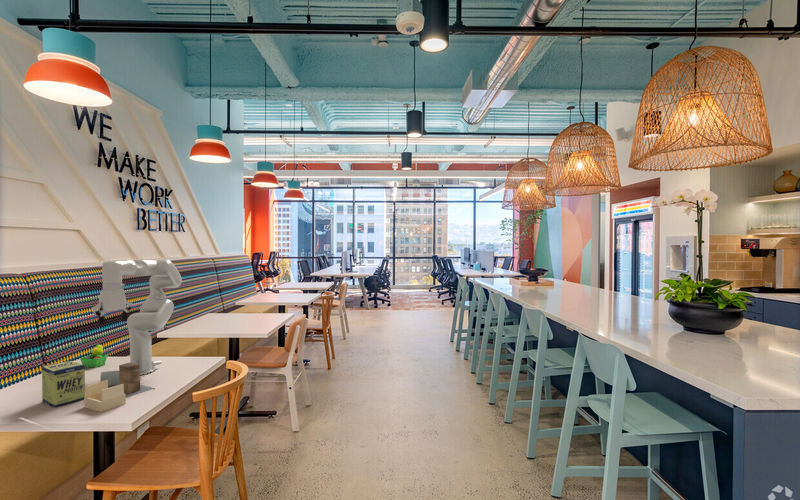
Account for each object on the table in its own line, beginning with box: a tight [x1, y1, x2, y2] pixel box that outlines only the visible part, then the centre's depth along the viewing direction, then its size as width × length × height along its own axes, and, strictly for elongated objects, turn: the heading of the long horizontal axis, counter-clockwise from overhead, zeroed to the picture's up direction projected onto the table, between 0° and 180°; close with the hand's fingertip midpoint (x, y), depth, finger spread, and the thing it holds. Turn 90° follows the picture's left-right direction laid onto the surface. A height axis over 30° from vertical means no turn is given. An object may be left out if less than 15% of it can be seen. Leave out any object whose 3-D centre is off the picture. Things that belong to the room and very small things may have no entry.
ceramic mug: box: [99, 370, 120, 388], centre depth 187 cm, size 11×8×8 cm
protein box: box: [41, 360, 86, 408], centre depth 168 cm, size 10×16×16 cm
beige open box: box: [83, 380, 127, 413], centre depth 161 cm, size 9×12×9 cm
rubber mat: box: [124, 384, 156, 399], centre depth 177 cm, size 14×14×1 cm
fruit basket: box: [79, 344, 108, 368], centre depth 222 cm, size 11×9×11 cm
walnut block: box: [118, 362, 141, 394], centre depth 177 cm, size 5×7×12 cm
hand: (113, 322), depth 186 cm, fingers open, 9 cm apart
